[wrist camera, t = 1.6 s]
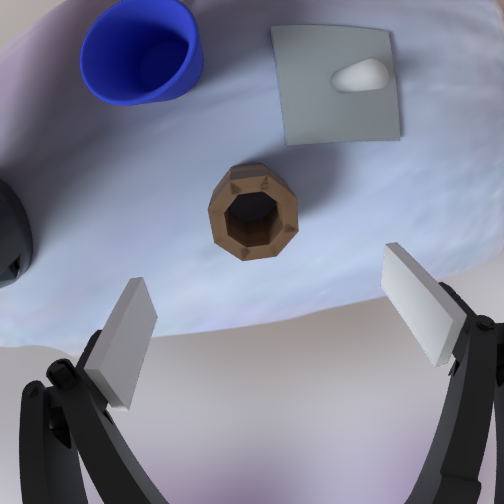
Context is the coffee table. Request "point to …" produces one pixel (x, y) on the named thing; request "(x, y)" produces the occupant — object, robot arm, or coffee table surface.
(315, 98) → the square plate with peg
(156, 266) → the coffee table surface
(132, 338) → the robot arm
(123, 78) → the mug
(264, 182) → the ring
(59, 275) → the coffee table surface
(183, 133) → the coffee table surface
